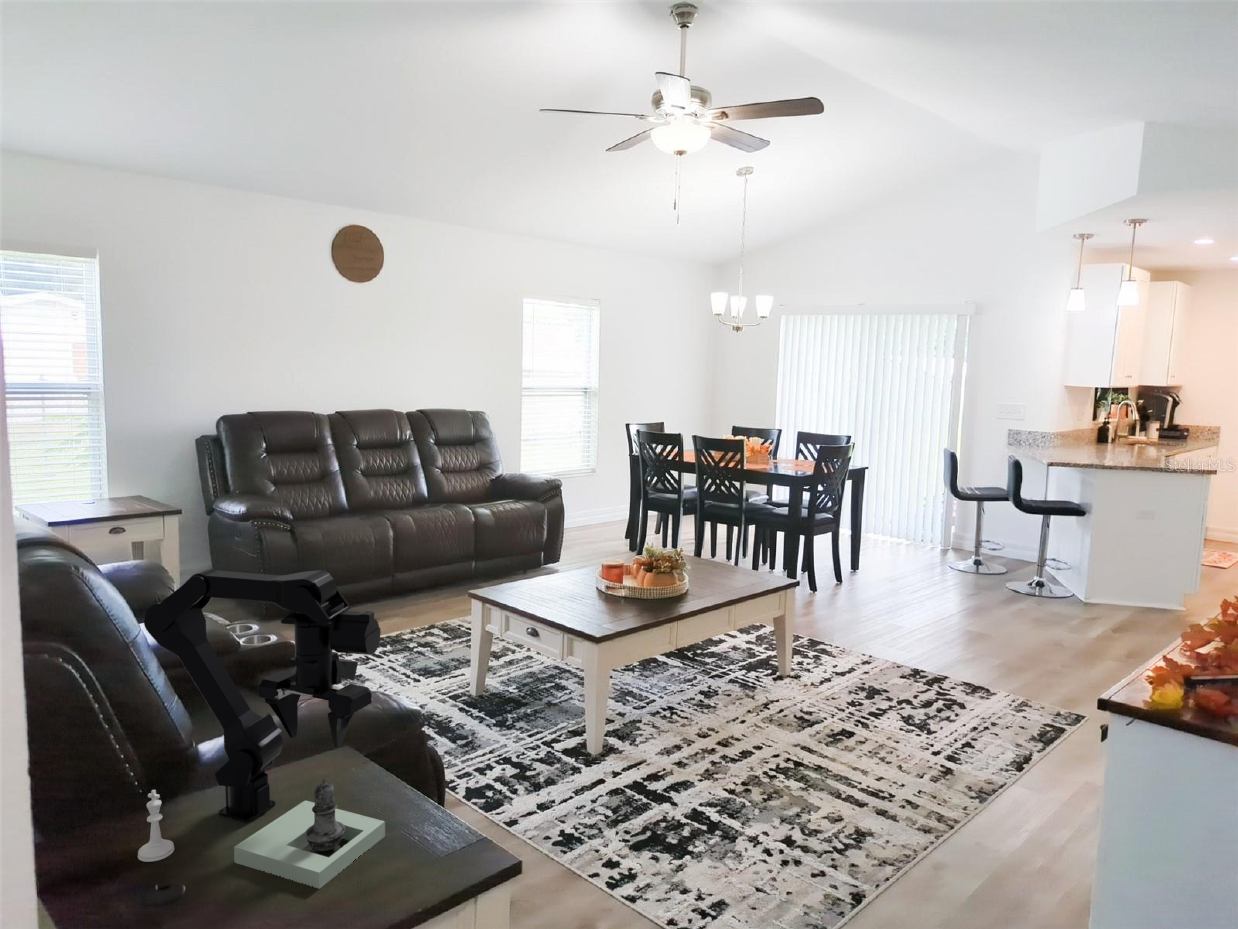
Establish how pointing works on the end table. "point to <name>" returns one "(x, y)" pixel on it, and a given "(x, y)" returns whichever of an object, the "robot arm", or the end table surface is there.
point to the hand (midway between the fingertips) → (315, 742)
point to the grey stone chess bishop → (324, 823)
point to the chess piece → (155, 834)
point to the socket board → (286, 838)
